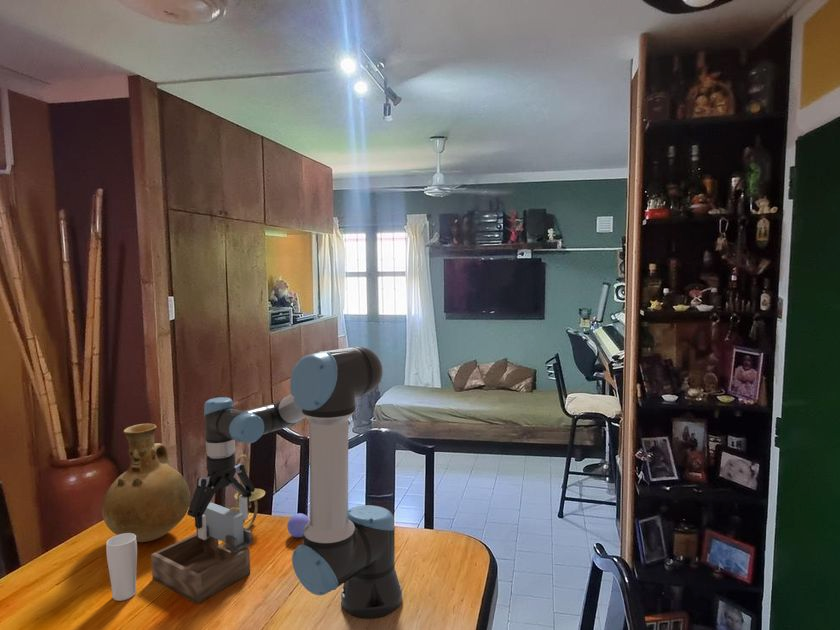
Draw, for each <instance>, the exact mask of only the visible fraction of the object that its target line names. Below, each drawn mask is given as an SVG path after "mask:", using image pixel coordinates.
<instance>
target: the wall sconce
mask: <svg viewBox="0 0 840 630" xmlns="http://www.w3.org/2000/svg"><path fill="white" fill-rule="evenodd" d="M242 459H244V463H245V465H244V466H245V472H246V474H247V475H248V470H249V459H248V456H247V455H246V454H241V455H239V457H238V458H237V459H236V461H235V462H236V464H237V463H239V464H241V461H242ZM240 484H241V485H242V486H243V487H244V485H243V483H242V481H241V480H240ZM254 488H255V487H254ZM251 494H252V495H251V497H249V506H248V509H250V508H252V503H251V502H253V503H254V510H253V511H254V512H253V516H252V518H251V520H250V522H249V523H248V525H246V527H243V528H244V529H247V530H249V529H250V528H252V526H253V524H254V523H255V521H256V518H257V515H258V510H259V509H258V507H259V503H258V500H260V499H262V498H263V497H265V495H266V491H265V490H264V489H261V488H255V491H254V492H251ZM241 495H242V494H241V493H240V492H238V491H237V492H236V493H235V494H234V496H233V498H234V499H235V500H236V505H235V507H231V508H229V509H230V510H233V511H236V512H238V513H240V512H239V496H241ZM250 513H251V512H250V511H248V515H249V514H250ZM245 523H246V520H244V519H243V526H244V525H245Z"/></svg>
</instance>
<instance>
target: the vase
mask: <svg viewBox="0 0 840 630" xmlns="http://www.w3.org/2000/svg"><path fill="white" fill-rule="evenodd" d="M157 428H158V427H157V425H156V424H154V423H140V424H134V425H132V426H127V427H126V428H125V429H124V430H123V434H124V435H125V437H126V438H127V442H128V447H129V449H128V450H127V451H126V452H127V453H126V454H127V456H128V457H129V459H130V461H129V466H128V468H127V470H126V471H124V472H123V473H121V474H120V475H119V476H118V477H117V478H116V479H115V480H114V481H113V482H112V484H111V485H110V487H109V488H108V489H107V492H106V494H105V496H104V499H103V502H102V508H101V512H102V513H101V514H102V518H103V519H102V520H103V521H104V523H105V525H106V527H107V529H109V530H110V531H111V532H112V533H113V534H115V536H116V535H119V534H123V533H132V534H135V535H136V540H137V542H140V543H144V542H146V543H147V542H151V541H155V540H157V539H159V538H162V537H164V536H165V535H166V534H168V533H169V532H171V531H172V530H173V529H174V528H175V527H176V526H178V525H179V523H180V522H181V521H182V520H183V519H184V517H185V516H186V514H187V512H188V510H189V507H190V504H191V491H190V489H189V486H188V483H187V481H186V479H185V477H184V476H183V475H182V474H181V473H180V472H179V471H178V470H177V469H175V468H174V467H172V466H170V465H169V464H170V463H169V462H170V461H169V453H168V452H169V451H168V449H167V446H165V444H164V443H155V433H156V430H157Z"/></svg>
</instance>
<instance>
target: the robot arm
mask: <svg viewBox="0 0 840 630" xmlns="http://www.w3.org/2000/svg"><path fill="white" fill-rule="evenodd" d="M382 378H383V366H382V362H381V359H380V358H379V356H378V355H377V354H376V353H375V352H374V351H372V350H371V349H369V348H368V347H364V346H357V345H356V346H349V347H344V348H338V349H331V350H325V351H324V350H323V351H316V352H315V353H310V354H307V355H304V356H303V357H301V358H300V359H299V361H298V362H297V363H296V364H295V365H294V367H293V369H292V371H291V375H290V379H289V387H290V388H289V389H290V394H288V395H287V396H285V397H283V398H281V399H280V400H278V401H276V402H273V403H270V404H269V403H268V404H267V405H261V406H257V407H253V408H250V409H245V410H239V409H236V408H235V405H234V402H233V400H232V398H230V397H223V396H222V397H213V398H210V399H208V400H206V401H205V403H204V405H203V406H204V407H203V409H204V413H203V418H204V421H203V422H204V435H205V451H206V455H207V456H206V459H205V460H206V470H207V476H206V477H200V476H199V477H197V479H196V488H195V491H194V493H193V494H192V495H193V496H192V499H191V500H190V503H189V508H188V510H187V513H186V514H187V516H188V517H192V518H194V526H195V528H198V538H201V539H203V540H205V539H207V534H206V516H205V515H203V514H204V512H205V510H206V508H207V506H208V505H209V503H211V501H212V499H213V497H214V496H215V494H216V493H217V492H218V491H219V490H222V489H223V488H225V487H230V485H231V486H232V487H233V489H235V490H236V491H237V493H238V492H240V493H241V494H242V495H241V496H239V512H240V513H241V514H243V519H244V520H245V521H247V520H249V514H248V512H249V510H248V509H249V503H250V502H249V497H251V495H252V494H251V492H254V491H255V487H254V484H253V483H252V481H251V479H250V477H249V475H248V473H247V474H246V472H245V465H244V464H242V463H237V464H236V462H237V461H236V453H235V452H236V442H237V443H243V444H244V443H245V444H253V443H255V442H257V441H258V440H259V439H260V438H261V437H262V436H263V435H266V434H269V433H273V432H275V431H279V430H282V429H283V430H284V429H286V428H287V429H288V428H291V427H294V426H295V425H297V424H298V425H299V423H300V422H301V421H302V420H304V419H305V418H306V419H307V420H308V429H309V430H308V434H309V435H308V437H309V438H308V440H309V441H308V442H309V444H308V445H309V448H308V449H309V450H308V451H309V460H308V461H309V463H308V464H309V520H310V522H309V523H308V524H306V526H305V527H304V529H303V537H302V544H299V545H298V546H297V547H296V548H295V549H294V550H293V552H292V555H291V561H292V567H293V570H294V573H295V576H296V578H297V579H298V580H299V582H300V584H301V585H302V586H303V588H304V589H305V590H306V591H308V592H310V593H311V594H313V595H315V596H325V595H326V594H329V593H330V592H332V591H335V590H337V589H338V588H339V587H340V586H342V585H343V586H342V589H341V598H340V599H341V606H342V608H343V610H345V612H347V613H348V614H349V615H352V616H354V617H357V618H363V619H376V618H381V617H384V616H387V615H389V614H391V613H393V612H394V611H396V610H397V609H398V608H399V607H400V605H401V603H402V600H403V590H402V585H401V582H400V581H399V578H398V574H397V571H396V568H395V567H396V566H395V565H396V564H395V558H396V557H395V555H396V553H395V552H396V551H395V548H396V547H395V542H396V539H395V535H396V534H395V532H396V531H395V530H396V526H395V520H394V519H395V517H394V514H393V513H392V512H391V511H390V509H387V508H385V507H383V506H378V505H374V504H373V505H371V504H368V505H366V504H364V505H357V506H354V507H351V508H350V509H349V419H350V417H351V416H352V415H354V414H355V412H356V399H357V398H358V397H362V396H365V395H368V394H370V393H372V392H374V390H376V388H377V387H378V386H379V384H380V383H381V381H382ZM236 474H237V476H238V478H239V479H240V482H239V481H238V480H237V479H236V478H235V475H236ZM241 481H242V483H243V486H242V485H241ZM212 487H213V488H212Z"/></svg>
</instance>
